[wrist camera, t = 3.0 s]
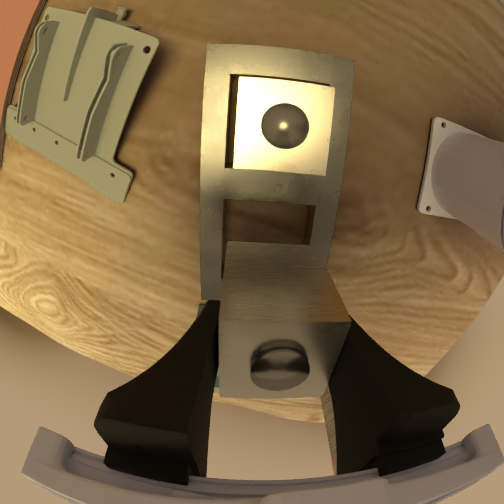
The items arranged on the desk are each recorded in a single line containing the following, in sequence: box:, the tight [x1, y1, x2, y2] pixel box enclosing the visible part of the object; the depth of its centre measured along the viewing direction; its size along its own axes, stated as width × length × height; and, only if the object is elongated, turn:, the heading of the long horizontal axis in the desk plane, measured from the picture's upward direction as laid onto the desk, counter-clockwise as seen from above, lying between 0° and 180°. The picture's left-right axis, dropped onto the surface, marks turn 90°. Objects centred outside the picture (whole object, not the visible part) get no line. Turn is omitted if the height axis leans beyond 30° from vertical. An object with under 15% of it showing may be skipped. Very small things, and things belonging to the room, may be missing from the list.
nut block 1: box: [233, 77, 335, 176], centre depth 15 cm, size 4×4×6 cm
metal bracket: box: [5, 6, 160, 204], centre depth 15 cm, size 14×6×15 cm
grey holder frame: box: [200, 44, 355, 300], centre depth 18 cm, size 9×18×2 cm, turn 176°
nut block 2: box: [219, 241, 352, 398], centre depth 13 cm, size 4×4×6 cm
